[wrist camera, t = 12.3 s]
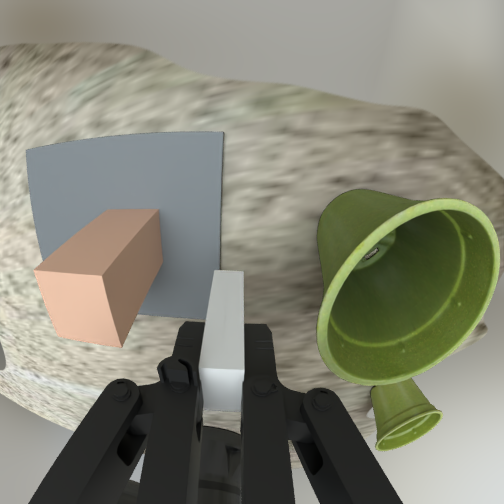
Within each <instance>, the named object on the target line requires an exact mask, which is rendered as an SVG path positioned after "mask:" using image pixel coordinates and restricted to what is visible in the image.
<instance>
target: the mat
mask: <svg viewBox="0 0 504 504" xmlns="http://www.w3.org/2000/svg"><path fill="white" fill-rule="evenodd" d="M223 137H224V132H160V133H142V134H128V135H117V136H107V137H98V138H90V139H83V140H76V141H70V142H64V143H58V144H52V145H47V146H42V147H37V148H32V149H28V150H26V161H27V173H28V183H29V192H30V199H31V206H32V212H33V218H34V223H35V229H36V233H37V238H38V243H39V247H40V251H41V255H42V259H43V261H44V260H45V259H46V258H48V257H49V256H50V255H51V254H52V253H53V252H54V251H56V250H57V249H58V248H59V247H60V246H61V245H63V244H64V243H65V242H66V241H67V240H69V239H70V238H71V237H72V236H74V235H75V234H76V233H77V232H79V231H80V230H81V229H82V228H84V227H85V226H86V225H87V224H89V223H90V222H91V221H93V220H94V219H95V218H97V217H98V216H99V215H101V214H102V213H103V212H105V211H106V210H108V209H159V220H160V233H161V245H162V255H163V263H162V265H161V267H160V269H159V271H158V273H157V275H156V277H155V279H154V281H153V283H152V285H151V287H150V289H149V291H148V293H147V295H146V297H145V299H144V301H143V303H142V305H141V307H140V309H139V311H138V314H142V315H152V316H164V317H176V318H190V319H206V316H207V310H208V304H209V298H210V293H211V287H212V281H213V275H214V270H220V225H221V187H222V160H223Z"/></svg>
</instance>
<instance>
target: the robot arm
mask: <svg viewBox="0 0 504 504" xmlns="http://www.w3.org/2000/svg"><path fill="white" fill-rule="evenodd" d="M157 370H158V374H159V377H160V381H159V382H157V383H154V384H150V385H142V386H137V385H136V383H134V382H133V381H131V380H128V379H117V380H114V381H112V382H111V383H110V384H108V385H107V386H106V388H105V389H104V391H103V392H102V393H101V395H100V396H99V398H98V399H97V400H96V402H95V403H94V405H93V406H92V408H91V409H90V410H89V412H88V413H87V415H86V416H85V418H84V419H83V420H82V422H81V423H80V425H79V426H78V428H77V429H76V431H75V432H74V434H73V435H72V436H71V438H70V439H69V441H68V443H67V444H66V446H65V447H64V449H63V450H62V451H61V453H60V454H59V456H58V457H57V459H56V460H55V462H54V464H53V465H52V467H51V468H50V470H49V472H48V473H47V474H46V476H45V478H44V479H43V481H42V482H41V484H40V485H39V487H38V489H37V491H36V492H35V494H34V495H33V497H32V499H31V500H30V502H29V503H28V504H295V498H294V488H293V479H292V470H291V461H290V453H289V445H288V440H291V441H292V443H293V446H294V448H295V450H296V452H297V455H298V457H299V459H300V461H301V464H302V466H303V468H304V470H305V473H306V475H307V477H308V479H309V481H310V483H311V486H312V488H313V490H314V492H315V494H316V496H317V498H318V500H319V503H320V504H403V503H402V501H401V500H400V498H399V496H398V495H397V493H396V491H395V490H394V488H393V487H392V485H391V483H390V481H389V480H388V478H387V476H386V475H385V473H384V472H383V470H382V468H381V466H380V465H379V463H378V462H377V460H376V458H375V457H374V455H373V453H372V452H371V450H370V448H369V447H368V445H367V443H366V442H365V440H364V438H363V437H362V435H361V433H360V432H359V430H358V428H357V427H356V425H355V423H354V422H353V420H352V419H351V417H350V415H349V414H348V412H347V410H346V409H345V407H344V405H343V404H342V402H341V400H340V399H339V397H338V396H337V395H336V394H335V393H334V392H333V391H331V390H329V389H325V388H314V389H312V390H310V391H308V392H307V393H301V392H297V391H293V390H290V389H288V388H286V387H284V386H283V385H282V384H281V383H280V381H279V380H278V377H277V372H276V363H275V355H274V347H273V339H272V332H271V331H270V329H269V328H268V326H267V325H266V324H244V271H227V270H214V275H213V281H212V287H211V293H210V298H209V304H208V310H207V316H206V323H204V322H189V321H186V322H185V323H184V324H183V325H182V326H181V327H180V328H179V331H178V335H177V339H176V343H175V346H174V350H173V354H172V356H171V357H168V358H165V359H164V360H162V361H161V362H160V363H159V365H158V367H157ZM203 409H204V410H212V411H233V412H241V426H240V432H241V435H238V434H236V433H233V432H230V431H227V430H223V429H218V428H212V427H203V418H202V414H203ZM146 446H147V447H146ZM145 448H146V452H145V457H144V462H143V467H142V473H141V479H140V483H138V482H135V481H132V480H129V479H130V477H131V475H132V473H133V471H134V469H135V467H136V466H137V464H138V462H139V460H140V458H141V456H142V454H143V452H144V450H145Z"/></svg>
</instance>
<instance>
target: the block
mask: <svg viewBox="0 0 504 504" xmlns="http://www.w3.org/2000/svg"><path fill="white" fill-rule="evenodd" d="M162 263H163V255H162V245H161V233H160V220H159V209H108V210H106V211H105V212H103V213H102V214H101V215H99V216H98V217H97V218H95V219H94V220H93V221H91V222H90V223H89V224H87V225H86V226H85V227H84V228H82V229H81V230H80V231H79V232H77V233H76V234H75V235H74V236H72V237H71V238H70V239H69V240H67V241H66V242H65V243H64V244H63V245H61V246H60V247H59V248H58V249H57V250H56V251H54V252H53V253H52V254H51V255H50V256H49V257H48V258H46V259H45V260H44V261H43V262H42V263H41V264H40V265H39V266H38V267H36V268H35V269H34V273H35V276H36V279H37V282H38V286H39V289H40V291H41V294H42V297H43V300H44V303H45V305H46V308H47V311H48V313H49V316H50V318H51V321H52V323H53V326H54V328H55V330H56V333H57V335H58V337H63V338H68V339H72V340H78V341H83V342H88V343H94V344H100V345H106V346H112V347H119V348H122V347H123V344H124V342H125V340H126V338H127V335H128V333H129V331H130V329H131V326H132V324H133V322H134V320H135V318H136V316H137V314H138V311H139V309H140V307H141V305H142V303H143V301H144V299H145V297H146V295H147V293H148V291H149V289H150V287H151V285H152V283H153V281H154V279H155V277H156V275H157V273H158V271H159V269H160V267H161V265H162Z"/></svg>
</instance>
